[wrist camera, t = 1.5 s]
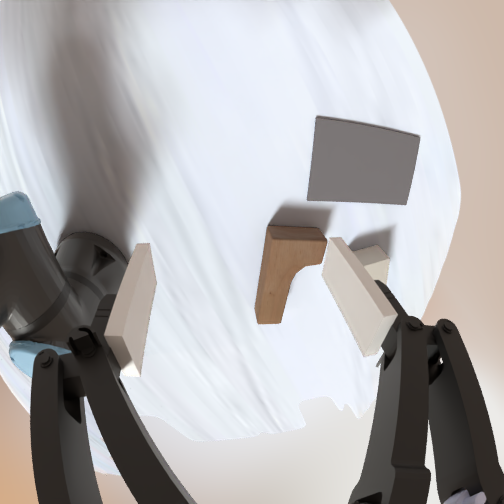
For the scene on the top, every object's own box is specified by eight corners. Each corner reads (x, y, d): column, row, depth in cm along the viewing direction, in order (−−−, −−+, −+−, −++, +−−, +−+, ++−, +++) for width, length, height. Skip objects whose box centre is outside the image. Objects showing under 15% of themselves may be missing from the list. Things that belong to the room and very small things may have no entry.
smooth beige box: (339, 286, 54) (349, 302, 49) (340, 254, 49) (351, 269, 45) (374, 276, 54) (385, 291, 49) (377, 244, 49) (389, 258, 45)
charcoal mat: (306, 199, 42) (307, 200, 42) (315, 117, 35) (316, 118, 35) (405, 204, 45) (406, 205, 45) (418, 137, 38) (420, 137, 38)
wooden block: (328, 240, 41) (303, 323, 51) (319, 227, 45) (297, 307, 55) (272, 238, 40) (257, 325, 49) (266, 224, 44) (253, 308, 53)
